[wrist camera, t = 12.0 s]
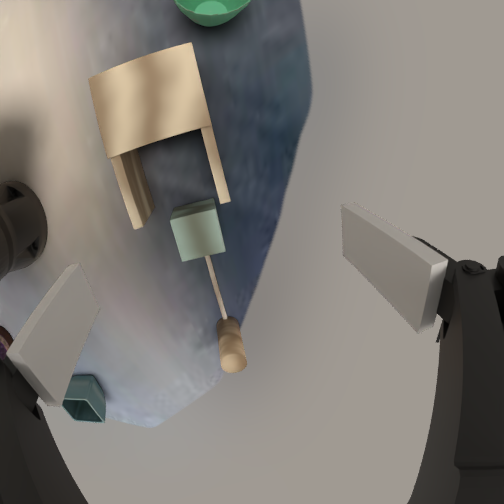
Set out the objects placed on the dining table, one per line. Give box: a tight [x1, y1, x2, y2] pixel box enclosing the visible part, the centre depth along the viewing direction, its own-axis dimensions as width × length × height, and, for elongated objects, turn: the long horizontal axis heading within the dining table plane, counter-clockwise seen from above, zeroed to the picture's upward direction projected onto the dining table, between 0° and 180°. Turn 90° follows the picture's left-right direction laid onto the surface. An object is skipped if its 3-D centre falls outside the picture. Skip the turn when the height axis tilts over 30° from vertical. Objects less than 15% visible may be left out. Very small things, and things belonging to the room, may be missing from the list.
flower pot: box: [62, 375, 106, 423], centre depth 48 cm, size 9×9×9 cm
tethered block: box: [170, 198, 247, 373], centre depth 42 cm, size 6×25×10 cm, turn 11°
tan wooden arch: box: [88, 43, 230, 230], centre depth 31 cm, size 12×19×10 cm, turn 13°
